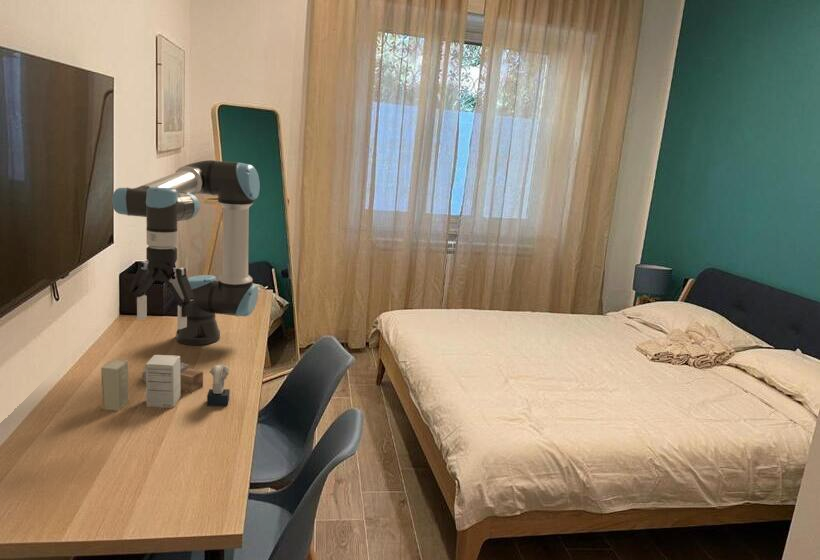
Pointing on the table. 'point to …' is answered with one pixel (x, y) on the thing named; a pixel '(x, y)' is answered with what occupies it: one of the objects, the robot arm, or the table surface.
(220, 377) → the watch
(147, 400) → the supplement box
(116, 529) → the table surface
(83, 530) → the table surface
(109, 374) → the skincare box
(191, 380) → the walnut cube
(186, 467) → the table surface
